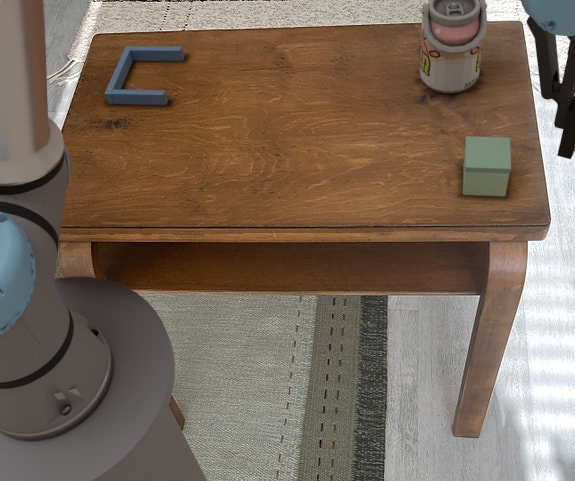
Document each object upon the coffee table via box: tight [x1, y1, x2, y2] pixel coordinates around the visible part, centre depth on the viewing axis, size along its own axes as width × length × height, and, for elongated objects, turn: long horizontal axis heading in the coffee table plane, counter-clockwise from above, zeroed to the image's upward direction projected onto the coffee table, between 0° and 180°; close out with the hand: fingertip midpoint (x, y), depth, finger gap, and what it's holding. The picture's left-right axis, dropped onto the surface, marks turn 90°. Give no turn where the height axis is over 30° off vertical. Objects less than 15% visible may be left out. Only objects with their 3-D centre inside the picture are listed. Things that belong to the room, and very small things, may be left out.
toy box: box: [462, 135, 512, 197], centre depth 91 cm, size 5×5×5 cm
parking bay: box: [104, 45, 185, 106], centre depth 112 cm, size 9×11×2 cm
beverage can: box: [419, 0, 489, 94], centre depth 101 cm, size 9×8×12 cm
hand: (567, 149), depth 83 cm, fingers closed
